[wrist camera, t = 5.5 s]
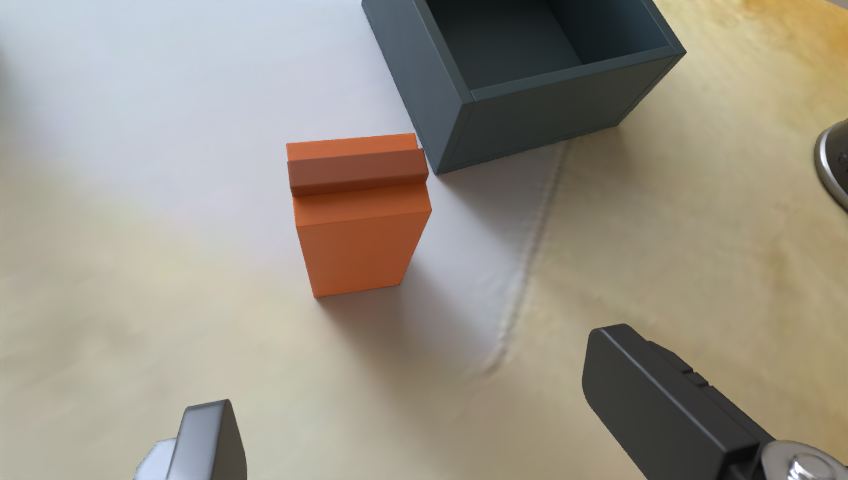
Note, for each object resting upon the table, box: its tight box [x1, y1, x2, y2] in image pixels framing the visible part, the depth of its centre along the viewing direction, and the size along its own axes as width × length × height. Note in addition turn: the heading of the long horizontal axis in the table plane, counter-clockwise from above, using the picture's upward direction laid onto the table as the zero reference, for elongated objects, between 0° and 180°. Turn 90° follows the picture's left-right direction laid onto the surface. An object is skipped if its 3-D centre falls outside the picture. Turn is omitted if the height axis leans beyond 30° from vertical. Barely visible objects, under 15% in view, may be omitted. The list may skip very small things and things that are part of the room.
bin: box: [362, 0, 687, 175], centre depth 32 cm, size 16×16×8 cm
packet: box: [286, 133, 432, 298], centre depth 23 cm, size 5×4×12 cm
